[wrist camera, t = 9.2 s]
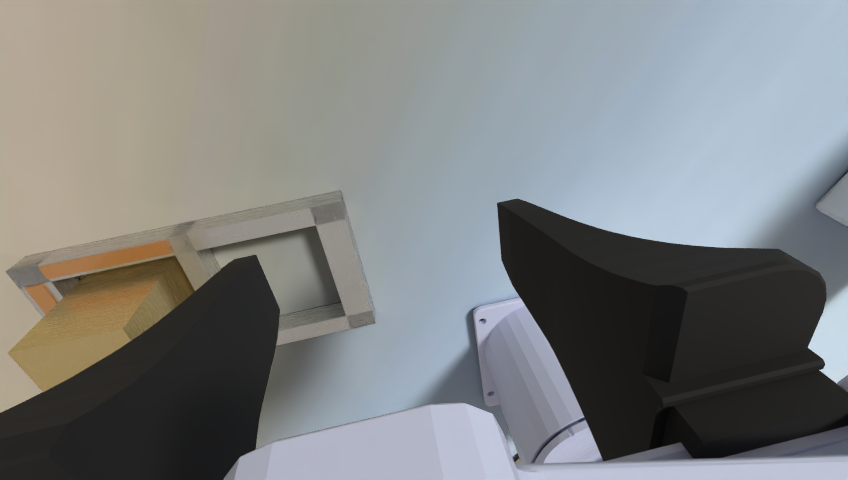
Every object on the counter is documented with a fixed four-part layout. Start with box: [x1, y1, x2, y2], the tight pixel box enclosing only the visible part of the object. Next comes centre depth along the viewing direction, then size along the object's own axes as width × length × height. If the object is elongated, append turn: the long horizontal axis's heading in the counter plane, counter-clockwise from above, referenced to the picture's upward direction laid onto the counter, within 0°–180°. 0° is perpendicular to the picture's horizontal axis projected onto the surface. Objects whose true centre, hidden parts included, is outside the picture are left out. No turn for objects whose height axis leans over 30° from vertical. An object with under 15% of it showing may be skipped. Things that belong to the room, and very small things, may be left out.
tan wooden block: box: [8, 256, 195, 392], centre depth 20 cm, size 4×4×6 cm
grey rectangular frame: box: [6, 191, 375, 346], centre depth 22 cm, size 8×16×2 cm, turn 99°
